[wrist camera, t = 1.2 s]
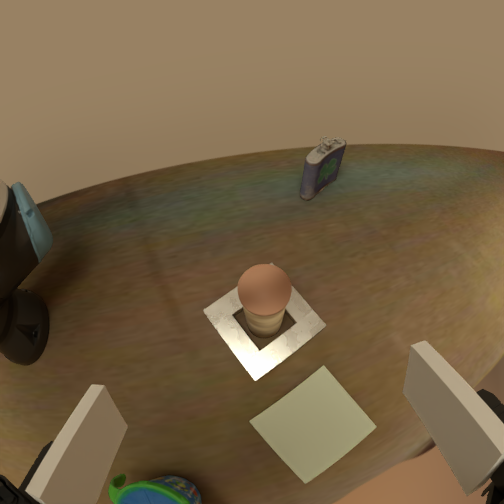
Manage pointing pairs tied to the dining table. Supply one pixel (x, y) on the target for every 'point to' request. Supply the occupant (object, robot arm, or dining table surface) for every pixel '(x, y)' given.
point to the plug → (264, 298)
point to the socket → (277, 350)
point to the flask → (321, 166)
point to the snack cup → (154, 491)
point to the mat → (313, 425)
